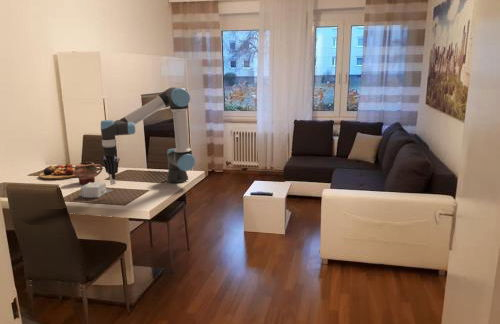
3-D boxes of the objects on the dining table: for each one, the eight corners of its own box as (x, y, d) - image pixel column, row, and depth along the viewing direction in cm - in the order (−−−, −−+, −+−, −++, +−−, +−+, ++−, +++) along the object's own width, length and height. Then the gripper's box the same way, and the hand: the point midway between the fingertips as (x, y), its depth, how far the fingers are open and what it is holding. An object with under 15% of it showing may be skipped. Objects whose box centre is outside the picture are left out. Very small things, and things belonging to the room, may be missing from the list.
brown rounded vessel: (98, 178, 278) (96, 159, 275) (107, 181, 270) (105, 161, 267) (71, 183, 263) (68, 164, 260) (79, 187, 255) (76, 166, 252)
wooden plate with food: (89, 176, 284) (88, 165, 282) (41, 182, 266) (39, 171, 265) (81, 169, 310) (80, 159, 308) (37, 174, 293) (35, 164, 291)
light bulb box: (107, 192, 241) (91, 192, 242) (105, 182, 239) (89, 182, 241) (98, 197, 231) (81, 197, 232) (97, 187, 229) (80, 187, 230)
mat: (114, 190, 246) (113, 190, 246) (90, 198, 230) (90, 198, 230) (102, 188, 251) (101, 188, 251) (78, 195, 235) (78, 195, 235)
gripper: (121, 146, 227) (125, 184, 232) (106, 144, 233) (110, 181, 238) (112, 148, 221) (115, 187, 226) (96, 146, 227) (100, 184, 232)
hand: (112, 184), depth 232 cm, fingers closed
